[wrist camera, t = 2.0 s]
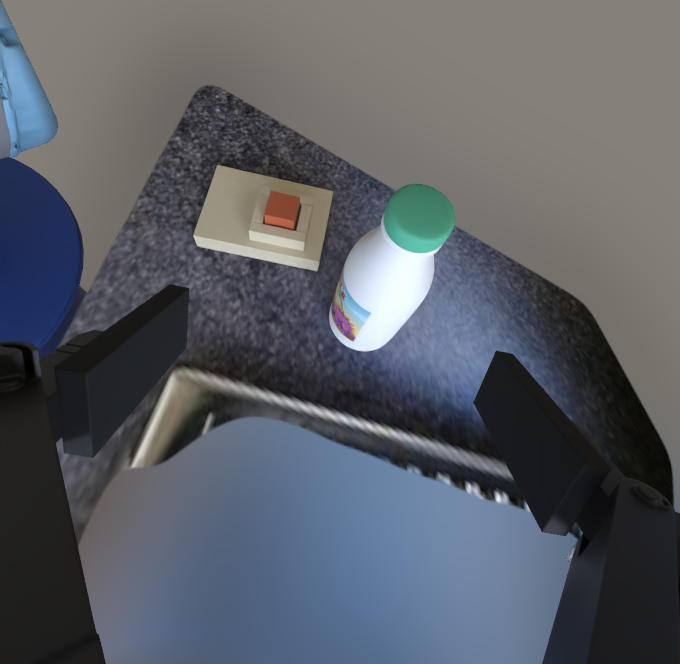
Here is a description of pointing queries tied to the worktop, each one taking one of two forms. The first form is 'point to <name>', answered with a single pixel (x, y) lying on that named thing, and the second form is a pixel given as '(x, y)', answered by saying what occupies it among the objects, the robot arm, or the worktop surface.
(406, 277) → the milk bottle
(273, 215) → the red switch button
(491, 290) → the worktop surface
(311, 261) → the light switch
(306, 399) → the worktop surface
